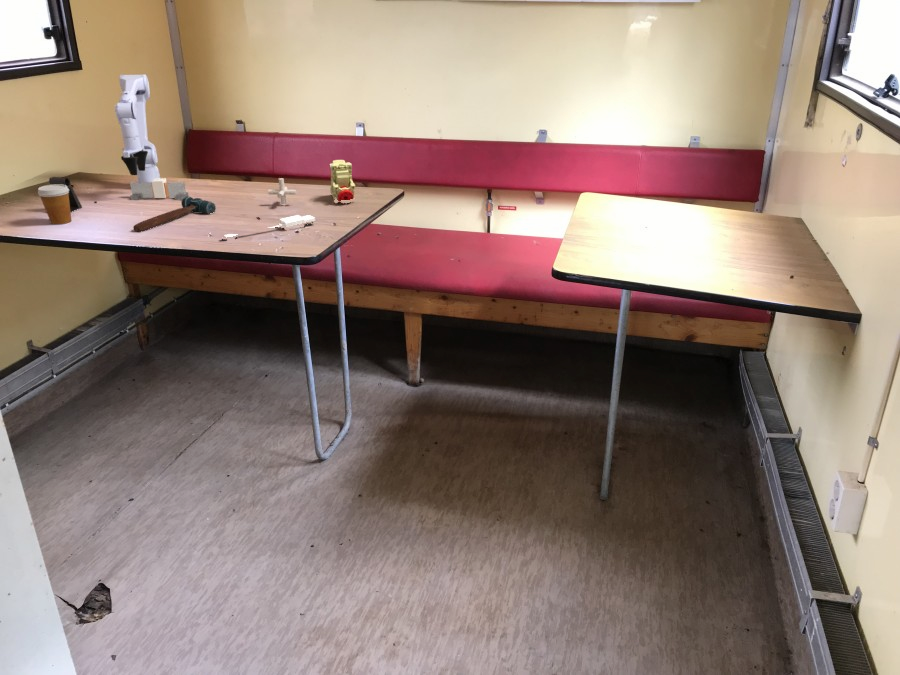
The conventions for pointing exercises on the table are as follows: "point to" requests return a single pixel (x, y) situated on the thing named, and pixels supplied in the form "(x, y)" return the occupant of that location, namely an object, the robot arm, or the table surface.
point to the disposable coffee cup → (56, 202)
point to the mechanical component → (341, 180)
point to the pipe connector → (282, 191)
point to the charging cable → (288, 222)
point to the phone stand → (72, 196)
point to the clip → (159, 187)
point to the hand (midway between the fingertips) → (138, 172)
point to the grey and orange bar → (146, 191)
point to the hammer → (177, 213)
